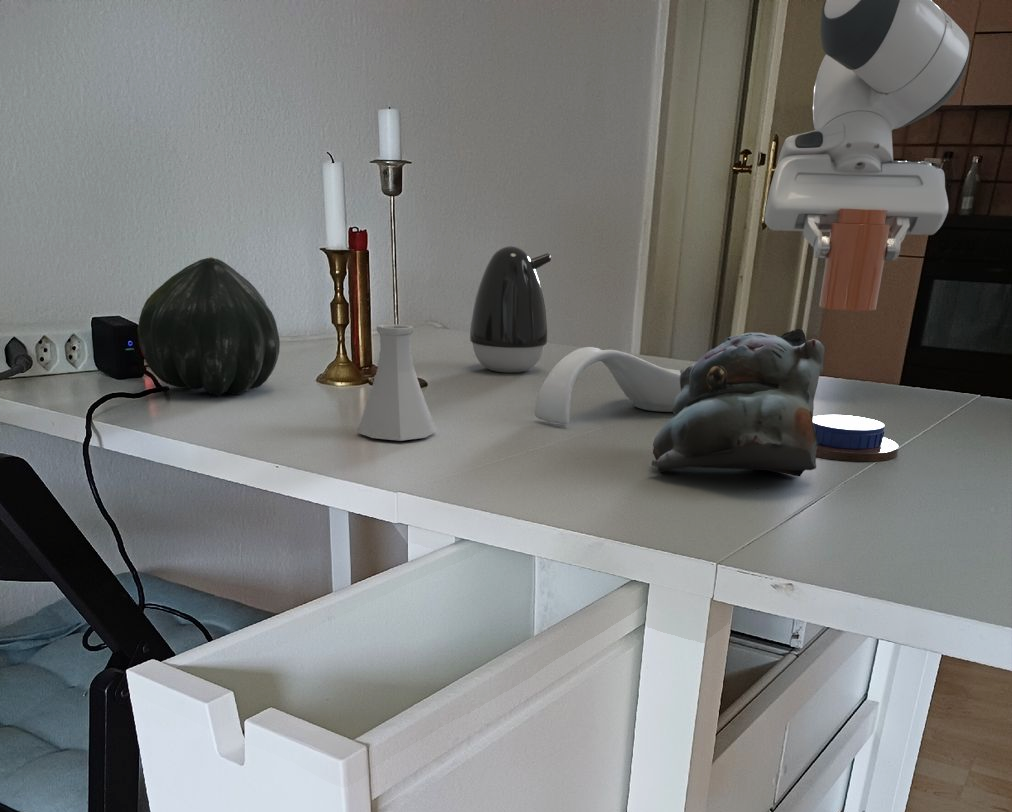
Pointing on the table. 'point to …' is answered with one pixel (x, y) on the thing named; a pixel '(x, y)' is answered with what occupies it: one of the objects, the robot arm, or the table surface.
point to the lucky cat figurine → (746, 407)
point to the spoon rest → (631, 373)
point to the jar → (855, 260)
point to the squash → (209, 330)
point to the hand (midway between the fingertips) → (856, 255)
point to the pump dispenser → (510, 312)
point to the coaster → (859, 452)
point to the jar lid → (848, 431)
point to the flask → (396, 392)
